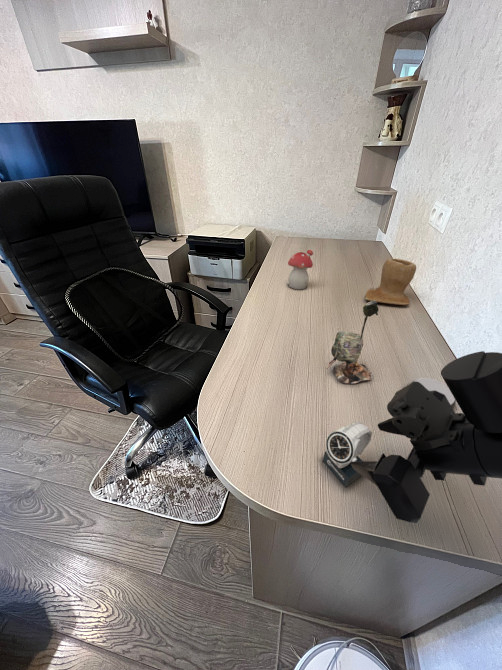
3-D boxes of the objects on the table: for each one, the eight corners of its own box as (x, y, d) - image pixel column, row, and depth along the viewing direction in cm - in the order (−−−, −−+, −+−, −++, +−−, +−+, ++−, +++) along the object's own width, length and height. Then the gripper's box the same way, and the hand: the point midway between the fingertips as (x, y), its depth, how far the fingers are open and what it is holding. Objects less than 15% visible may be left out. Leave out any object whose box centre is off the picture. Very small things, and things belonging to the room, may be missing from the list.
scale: (460, 414, 60) (466, 406, 58) (419, 414, 60) (423, 406, 58) (437, 384, 67) (442, 376, 66) (400, 384, 67) (404, 376, 66)
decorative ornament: (311, 285, 113) (316, 248, 104) (307, 292, 108) (312, 254, 99) (289, 281, 116) (292, 245, 107) (284, 288, 111) (287, 250, 102)
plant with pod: (323, 360, 74) (337, 293, 63) (368, 366, 72) (390, 297, 61) (324, 382, 68) (339, 311, 56) (373, 388, 66) (399, 316, 54)
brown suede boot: (404, 295, 106) (418, 256, 97) (409, 310, 96) (425, 269, 88) (363, 290, 109) (372, 252, 101) (363, 304, 100) (374, 264, 91)
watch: (314, 466, 50) (323, 428, 44) (346, 445, 54) (358, 408, 47) (337, 494, 46) (350, 457, 40) (369, 470, 50) (387, 432, 43)
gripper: (469, 348, 36) (366, 371, 49) (423, 441, 25) (306, 439, 38) (511, 422, 36) (398, 425, 49) (484, 545, 25) (347, 509, 38)
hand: (366, 445), depth 43 cm, fingers open, 9 cm apart
